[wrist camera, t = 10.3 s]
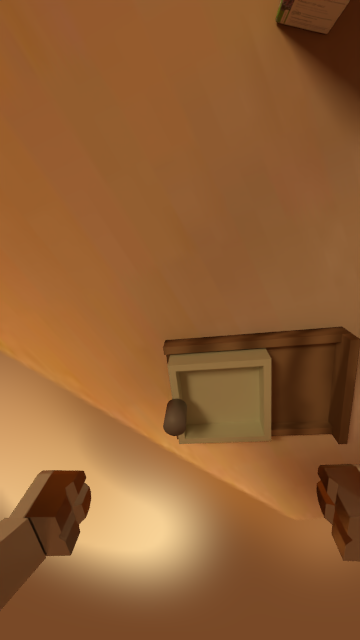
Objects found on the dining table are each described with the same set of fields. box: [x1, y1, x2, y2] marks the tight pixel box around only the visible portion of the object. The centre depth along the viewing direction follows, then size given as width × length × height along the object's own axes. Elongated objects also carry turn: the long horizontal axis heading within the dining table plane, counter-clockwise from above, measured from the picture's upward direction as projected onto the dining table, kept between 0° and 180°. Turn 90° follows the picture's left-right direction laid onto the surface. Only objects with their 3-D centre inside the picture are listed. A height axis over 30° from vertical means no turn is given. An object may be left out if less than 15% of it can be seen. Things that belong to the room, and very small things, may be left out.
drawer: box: [163, 348, 271, 444], centre depth 36 cm, size 15×14×8 cm
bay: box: [163, 327, 360, 444], centre depth 38 cm, size 26×17×4 cm, turn 97°
